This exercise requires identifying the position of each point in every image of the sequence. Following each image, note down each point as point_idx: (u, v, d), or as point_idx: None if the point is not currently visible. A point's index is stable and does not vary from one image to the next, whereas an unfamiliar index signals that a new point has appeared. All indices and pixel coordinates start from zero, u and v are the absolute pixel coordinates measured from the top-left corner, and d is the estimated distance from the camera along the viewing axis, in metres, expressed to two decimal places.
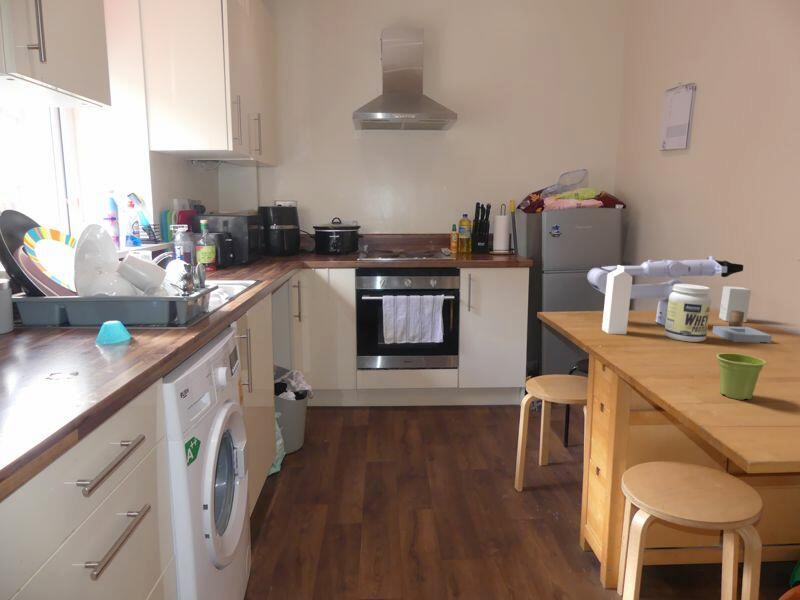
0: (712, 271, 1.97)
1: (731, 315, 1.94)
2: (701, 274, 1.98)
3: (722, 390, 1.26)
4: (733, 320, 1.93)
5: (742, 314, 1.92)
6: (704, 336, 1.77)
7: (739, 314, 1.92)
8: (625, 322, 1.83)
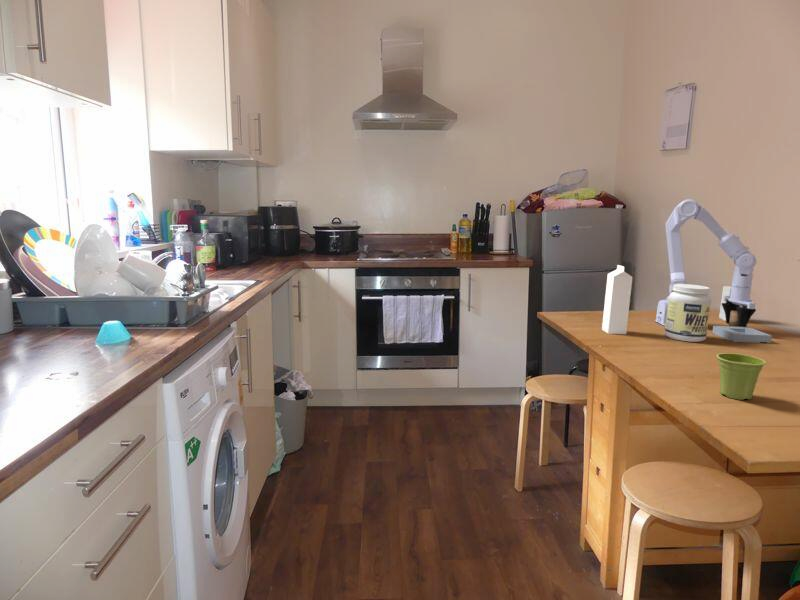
0: (741, 299, 1.91)
1: (731, 315, 1.94)
2: (737, 289, 1.91)
3: (722, 390, 1.26)
4: (733, 320, 1.93)
5: None
6: (704, 336, 1.77)
7: None
8: (625, 322, 1.83)
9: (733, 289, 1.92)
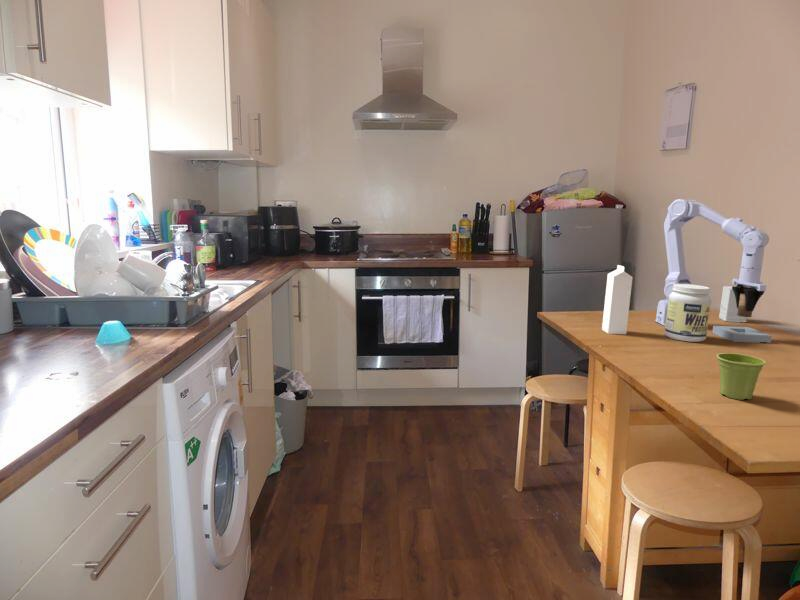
0: (750, 281, 1.79)
1: (741, 298, 1.83)
2: (747, 270, 1.80)
3: (722, 390, 1.26)
4: (743, 304, 1.82)
5: None
6: (704, 336, 1.77)
7: None
8: (625, 322, 1.83)
9: (742, 270, 1.81)
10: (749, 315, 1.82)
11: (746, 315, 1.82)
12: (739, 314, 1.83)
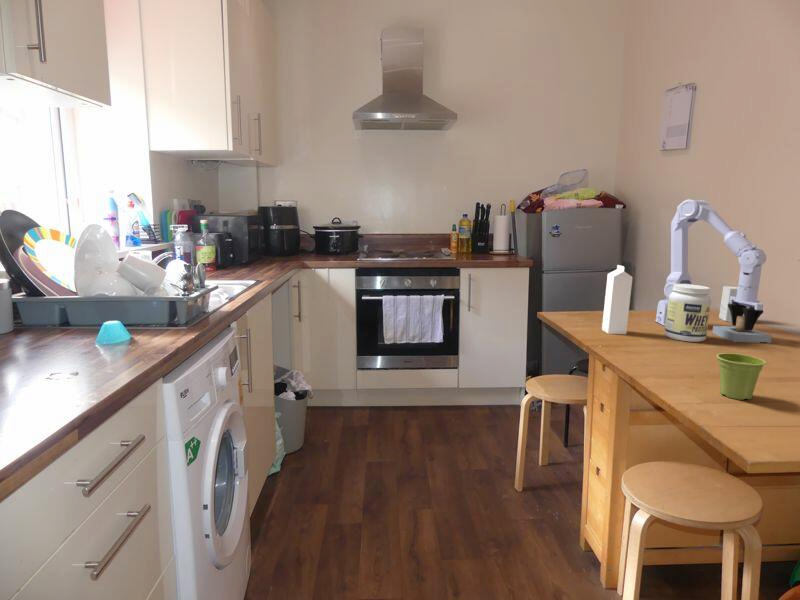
0: (748, 299, 1.80)
1: (737, 321, 1.84)
2: (744, 289, 1.81)
3: (722, 390, 1.26)
4: (740, 326, 1.83)
5: None
6: (704, 336, 1.77)
7: None
8: (625, 322, 1.83)
9: (740, 289, 1.82)
10: None
11: None
12: None
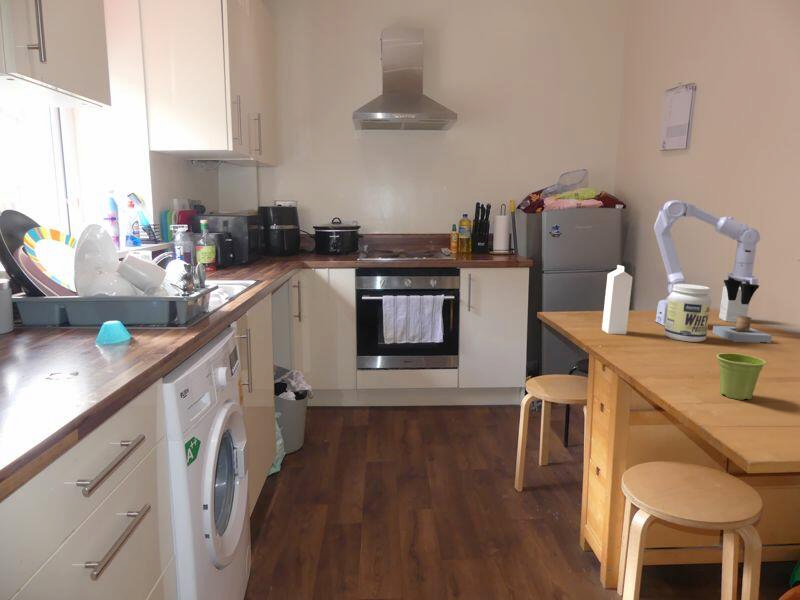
0: (743, 275, 1.91)
1: (737, 321, 1.84)
2: (740, 265, 1.91)
3: (722, 390, 1.26)
4: (740, 326, 1.83)
5: (749, 320, 1.82)
6: (704, 336, 1.77)
7: (746, 320, 1.82)
8: (625, 322, 1.83)
9: (736, 265, 1.93)
10: None
11: None
12: None
